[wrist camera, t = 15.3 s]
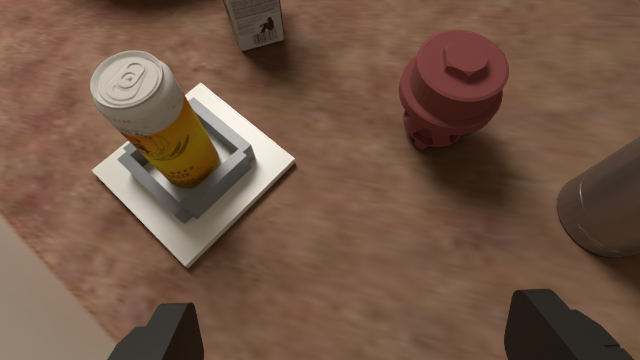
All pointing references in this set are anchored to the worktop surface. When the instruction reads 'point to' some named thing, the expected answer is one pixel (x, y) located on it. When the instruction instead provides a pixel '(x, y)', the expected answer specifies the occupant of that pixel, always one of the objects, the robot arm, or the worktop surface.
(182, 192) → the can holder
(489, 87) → the mechanical component
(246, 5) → the coffee box
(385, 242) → the worktop surface
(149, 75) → the beer can
